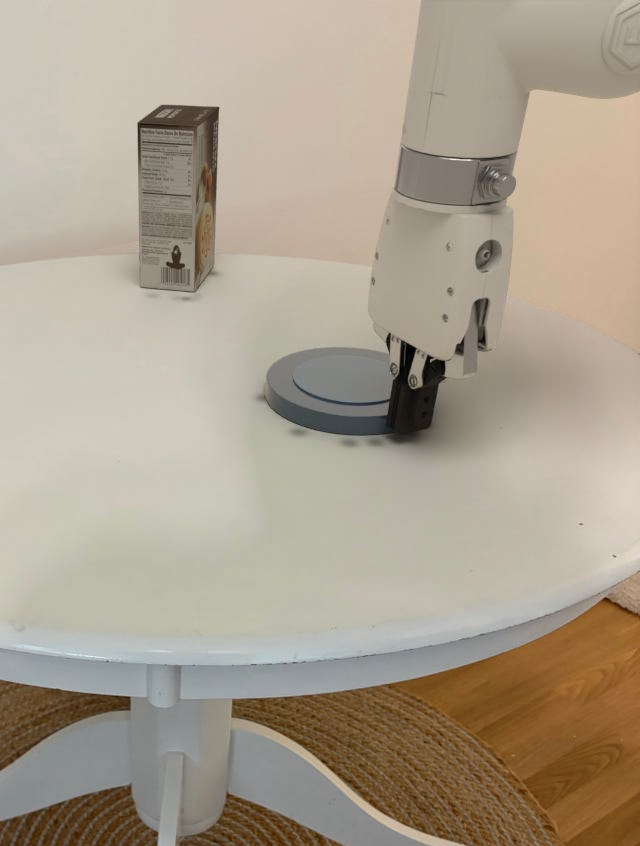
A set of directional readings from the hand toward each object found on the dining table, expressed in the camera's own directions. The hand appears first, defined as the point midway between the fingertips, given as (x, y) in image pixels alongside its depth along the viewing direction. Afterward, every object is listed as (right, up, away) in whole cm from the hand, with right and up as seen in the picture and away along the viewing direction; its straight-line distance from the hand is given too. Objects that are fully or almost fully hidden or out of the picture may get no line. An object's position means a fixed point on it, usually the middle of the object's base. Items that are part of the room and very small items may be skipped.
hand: (407, 427), depth 77 cm
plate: (-3, +4, +6) cm, 8 cm away
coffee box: (-17, +23, +31) cm, 42 cm away
